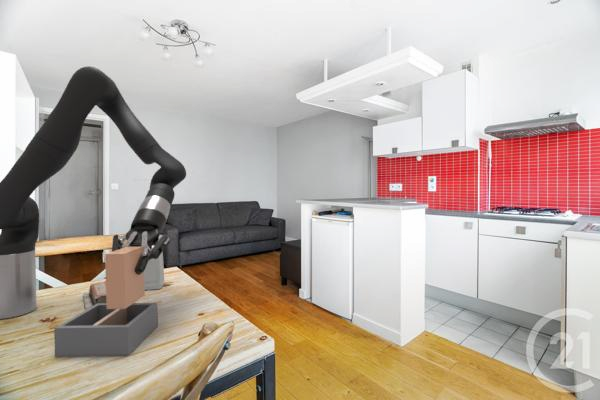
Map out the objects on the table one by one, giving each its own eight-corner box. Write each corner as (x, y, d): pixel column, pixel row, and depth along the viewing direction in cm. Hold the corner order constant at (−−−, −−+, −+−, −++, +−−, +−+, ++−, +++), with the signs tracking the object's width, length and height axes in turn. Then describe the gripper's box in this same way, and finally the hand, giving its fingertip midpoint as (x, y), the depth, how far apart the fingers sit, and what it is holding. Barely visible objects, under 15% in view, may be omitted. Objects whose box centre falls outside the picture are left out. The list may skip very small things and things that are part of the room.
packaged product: (82, 283, 92) (118, 277, 98) (82, 298, 92) (118, 291, 99) (85, 299, 78) (127, 291, 85) (86, 317, 78) (127, 307, 85)
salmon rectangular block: (106, 309, 61) (105, 254, 61) (128, 295, 69) (126, 246, 69) (125, 308, 61) (124, 253, 61) (144, 295, 69) (143, 246, 69)
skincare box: (164, 284, 105) (164, 244, 105) (160, 289, 99) (159, 247, 99) (139, 285, 103) (139, 245, 103) (134, 291, 97) (133, 248, 97)
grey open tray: (54, 356, 59) (54, 328, 59) (97, 326, 72) (97, 303, 72) (128, 355, 59) (128, 327, 59) (157, 326, 72) (157, 302, 72)
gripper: (119, 207, 74) (87, 265, 63) (174, 206, 75) (152, 264, 63) (131, 224, 80) (104, 281, 68) (182, 224, 80) (163, 280, 69)
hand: (127, 272), depth 66 cm, fingers closed on salmon rectangular block, 4 cm apart
